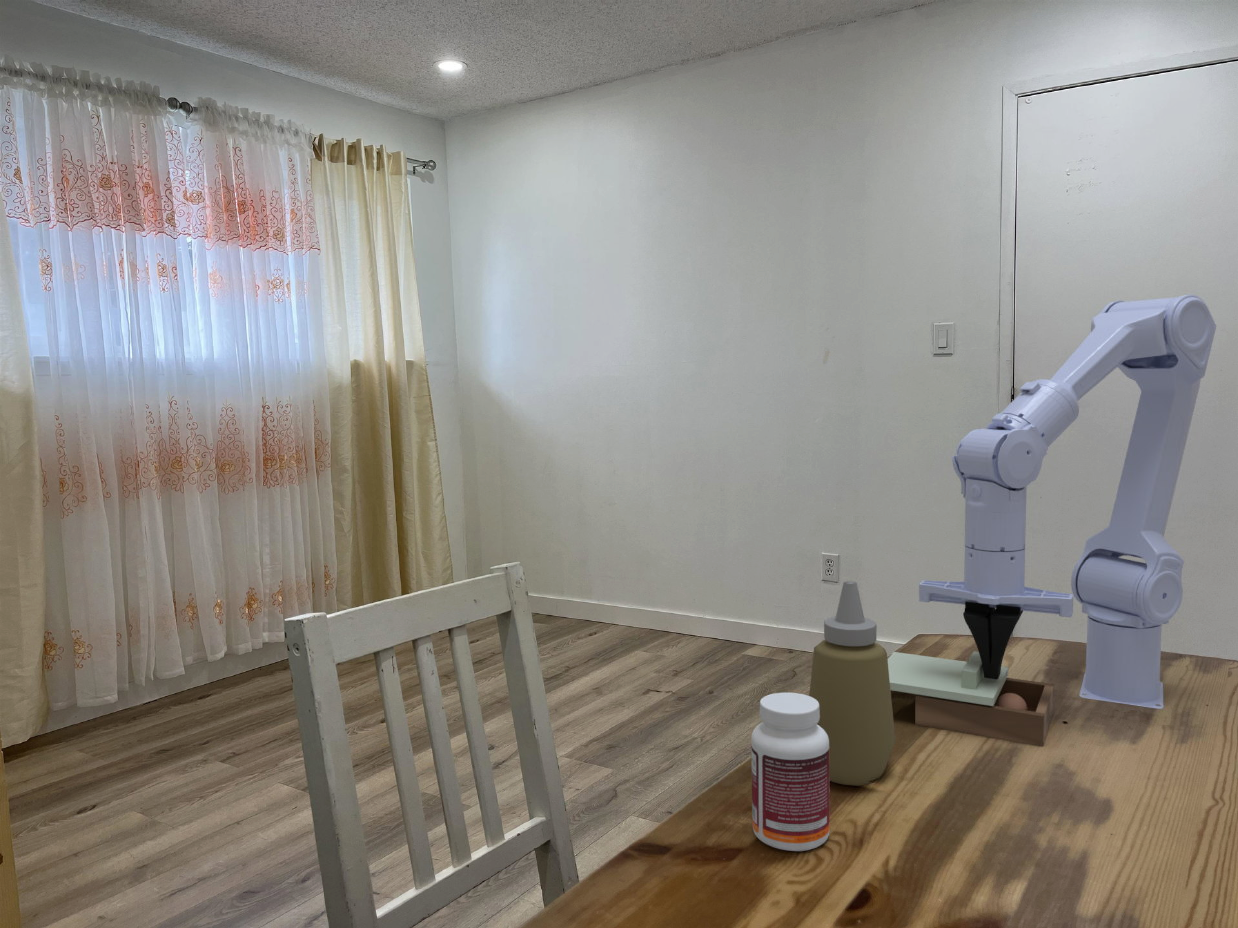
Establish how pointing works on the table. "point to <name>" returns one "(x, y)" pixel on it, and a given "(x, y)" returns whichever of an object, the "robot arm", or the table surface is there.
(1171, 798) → the table surface
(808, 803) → the pill bottle
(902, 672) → the lid
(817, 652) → the squeeze bottle
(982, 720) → the walnut box
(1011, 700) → the ball
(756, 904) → the table surface
